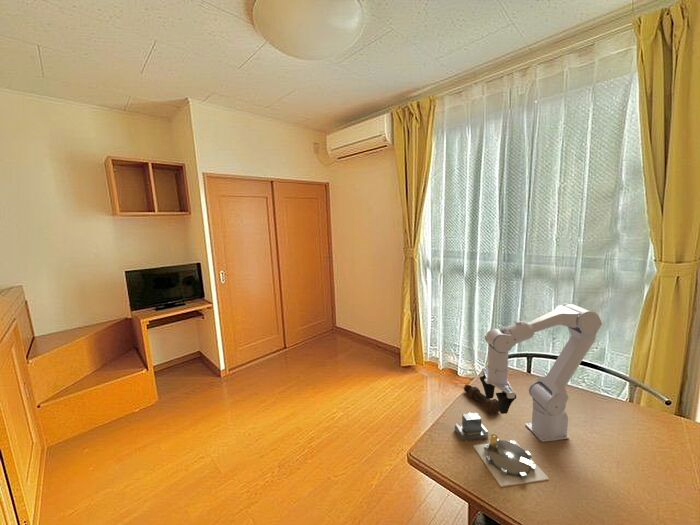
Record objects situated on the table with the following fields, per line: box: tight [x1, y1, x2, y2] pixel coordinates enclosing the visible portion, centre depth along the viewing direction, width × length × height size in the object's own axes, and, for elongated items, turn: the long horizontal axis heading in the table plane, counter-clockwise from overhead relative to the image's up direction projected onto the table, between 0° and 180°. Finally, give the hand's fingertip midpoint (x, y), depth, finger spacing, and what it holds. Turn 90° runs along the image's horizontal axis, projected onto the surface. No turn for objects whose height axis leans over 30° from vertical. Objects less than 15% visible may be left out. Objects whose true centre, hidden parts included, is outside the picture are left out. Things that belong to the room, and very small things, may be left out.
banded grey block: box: [461, 412, 482, 434], centre depth 95 cm, size 5×3×5 cm, turn 96°
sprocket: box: [484, 433, 535, 479], centre depth 84 cm, size 13×13×6 cm
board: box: [473, 439, 550, 488], centre depth 85 cm, size 14×14×1 cm
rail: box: [454, 422, 489, 442], centre depth 96 cm, size 9×5×2 cm, turn 96°
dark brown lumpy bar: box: [463, 384, 500, 416], centre depth 112 cm, size 6×5×15 cm
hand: (496, 405), depth 94 cm, fingers open, 7 cm apart
